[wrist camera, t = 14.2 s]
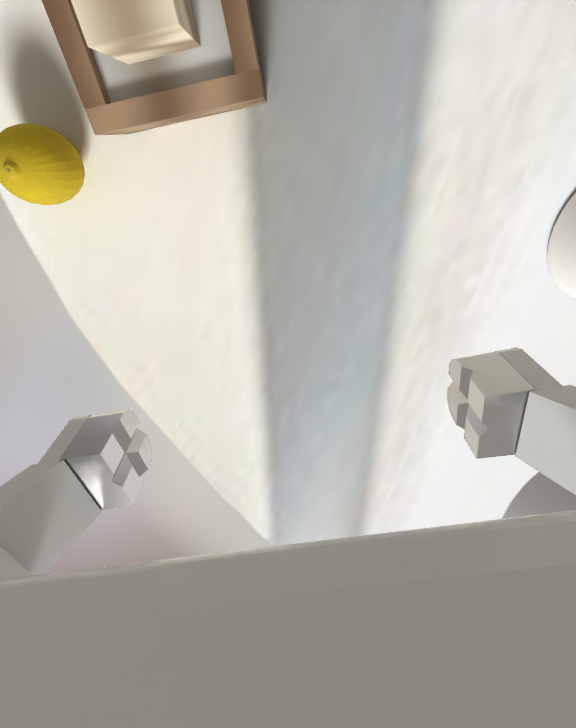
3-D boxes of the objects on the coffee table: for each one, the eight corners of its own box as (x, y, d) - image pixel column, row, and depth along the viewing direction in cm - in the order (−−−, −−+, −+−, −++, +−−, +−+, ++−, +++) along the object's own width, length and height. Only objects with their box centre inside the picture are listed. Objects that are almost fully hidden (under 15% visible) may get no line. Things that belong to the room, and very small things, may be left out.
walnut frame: (226, -124, 23) (210, -198, 18) (266, 102, 30) (263, 96, 24) (52, -75, 24) (-11, -132, 19) (127, 134, 31) (95, 135, 26)
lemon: (106, 146, 31) (57, 150, 24) (92, 208, 34) (45, 227, 27) (37, 110, 30) (-35, 103, 23) (28, 177, 32) (-38, 189, 26)
